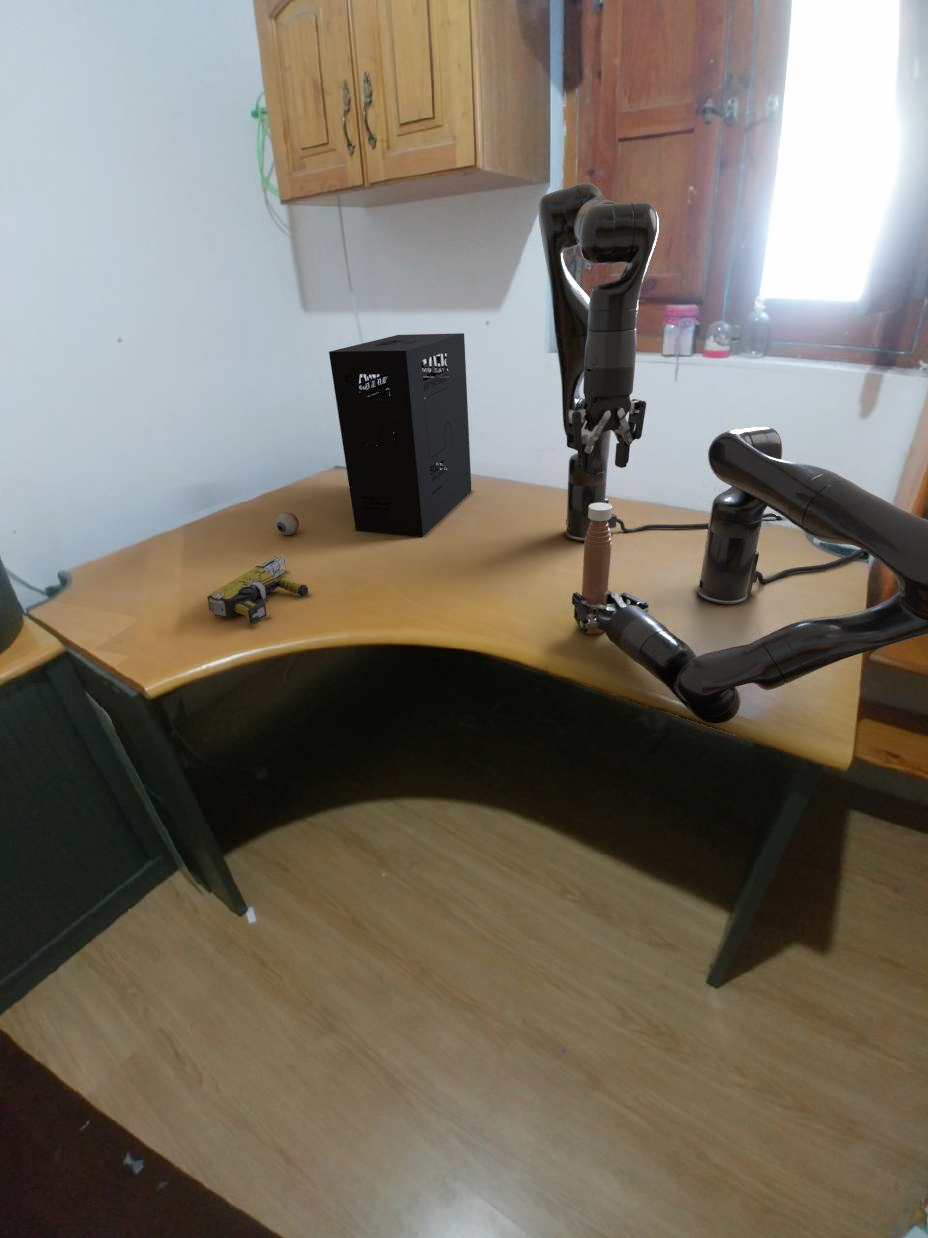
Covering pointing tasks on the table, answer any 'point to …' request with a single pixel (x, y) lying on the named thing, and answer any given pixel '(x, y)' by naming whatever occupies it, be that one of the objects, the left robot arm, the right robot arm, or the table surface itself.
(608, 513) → the cap
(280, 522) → the eyeball
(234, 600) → the toy gun
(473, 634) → the table surface
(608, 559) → the bottle
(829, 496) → the right robot arm
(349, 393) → the cardboard box
